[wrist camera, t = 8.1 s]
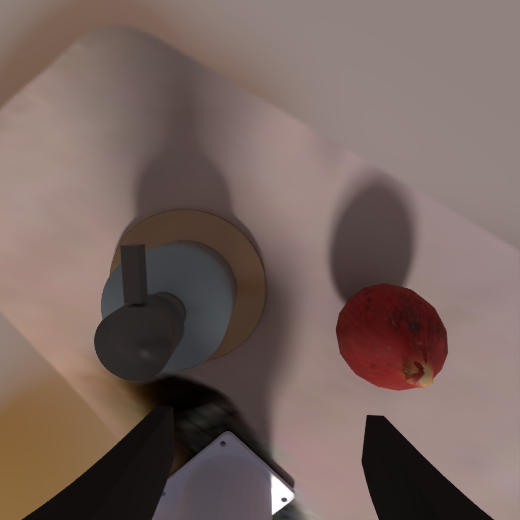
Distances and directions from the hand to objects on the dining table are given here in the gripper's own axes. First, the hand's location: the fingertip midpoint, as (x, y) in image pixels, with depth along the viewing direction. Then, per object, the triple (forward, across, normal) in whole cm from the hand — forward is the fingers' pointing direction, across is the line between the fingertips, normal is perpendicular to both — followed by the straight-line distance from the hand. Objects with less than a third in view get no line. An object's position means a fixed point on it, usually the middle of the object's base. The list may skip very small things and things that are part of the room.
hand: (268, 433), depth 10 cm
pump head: (+5, +6, -3) cm, 8 cm away
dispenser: (+10, +6, -2) cm, 12 cm away
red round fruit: (+11, -7, -1) cm, 13 cm away
